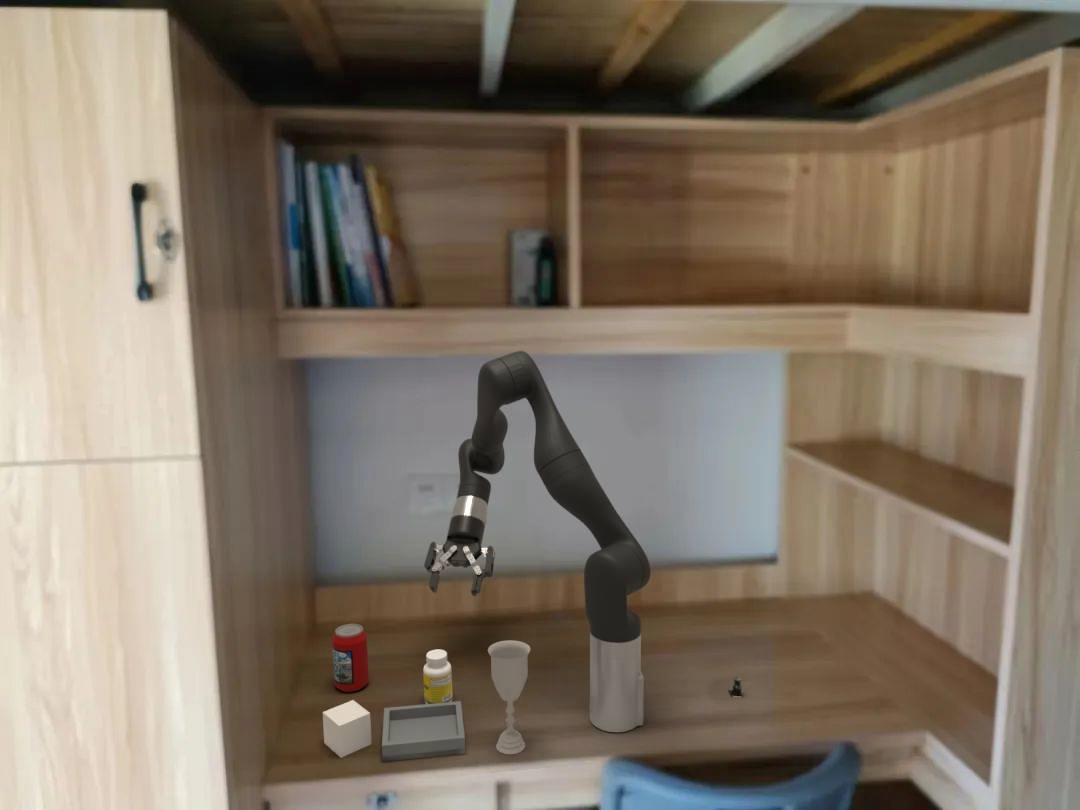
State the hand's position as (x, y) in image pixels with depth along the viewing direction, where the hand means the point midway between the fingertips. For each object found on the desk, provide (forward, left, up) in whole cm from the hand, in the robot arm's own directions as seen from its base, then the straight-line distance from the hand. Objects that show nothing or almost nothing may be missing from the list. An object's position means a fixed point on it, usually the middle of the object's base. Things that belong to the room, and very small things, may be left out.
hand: (453, 592), depth 163 cm
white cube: (+20, +22, -18) cm, 35 cm away
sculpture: (-54, +18, -18) cm, 60 cm away
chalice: (-8, +28, -17) cm, 34 cm away
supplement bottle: (+4, +11, -18) cm, 21 cm away
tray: (+7, +23, -17) cm, 30 cm away
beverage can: (+21, +2, -18) cm, 27 cm away
